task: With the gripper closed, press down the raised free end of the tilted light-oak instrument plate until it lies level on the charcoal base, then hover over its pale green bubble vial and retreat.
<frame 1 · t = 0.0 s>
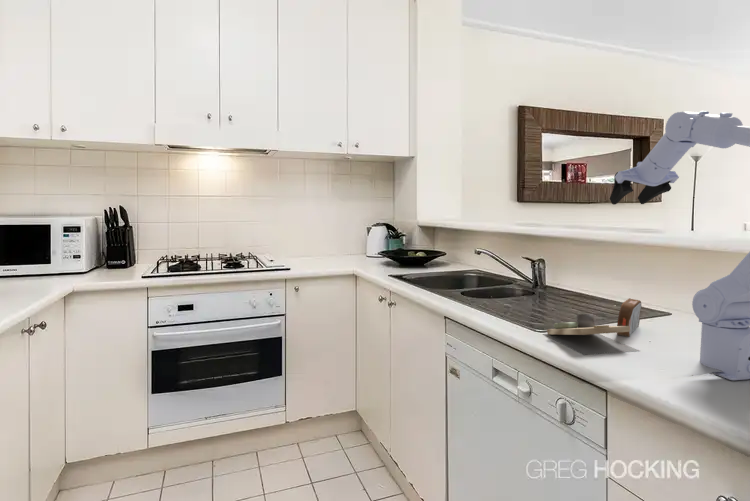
hand: (626, 201, 112), 32 cm above the countertop, tool tilted 50°, fingers open, 7 cm apart
brown and grey slab: (629, 335, 113), on the countertop
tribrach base: (588, 346, 104), on the countertop
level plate: (585, 323, 105), point 5 cm above the countertop, hinge at 15.0°, touching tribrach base
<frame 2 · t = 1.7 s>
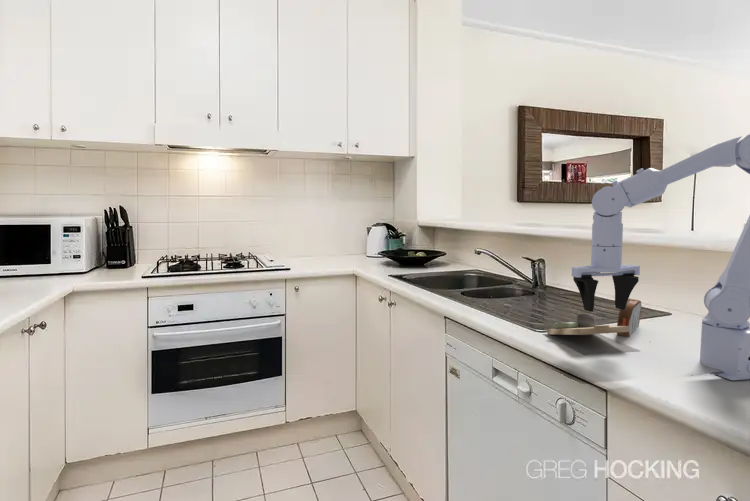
hand: (604, 309, 98), 9 cm above the countertop, tool pointing down, fingers open, 7 cm apart
nothing on the countertop moved.
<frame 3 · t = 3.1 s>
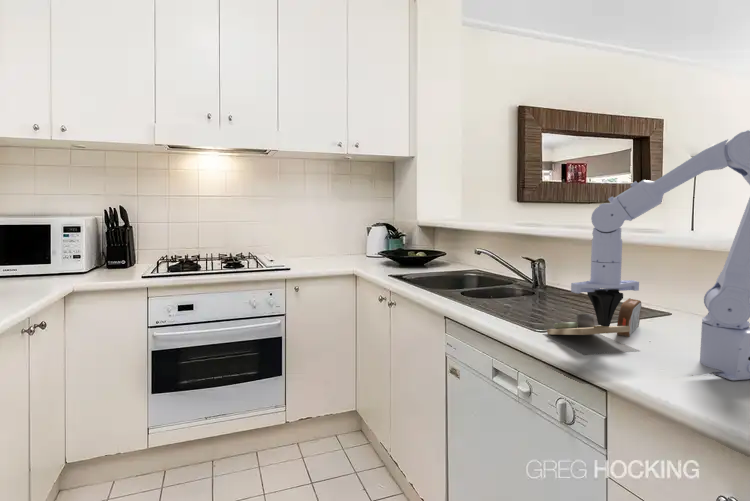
hand: (603, 325, 98), 6 cm above the countertop, tool pointing down, fingers closed, pressing on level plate
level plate: (585, 323, 105), point 5 cm above the countertop, hinge at 15.0°, touching gripper, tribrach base
everything else where it was.
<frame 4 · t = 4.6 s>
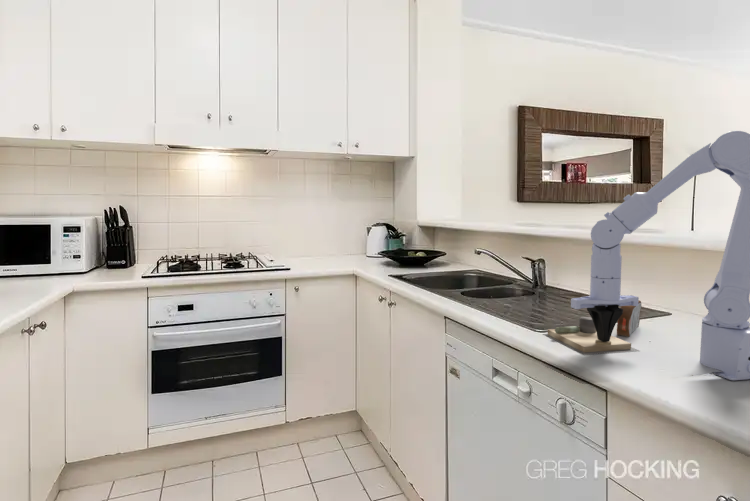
hand: (603, 340, 99), 3 cm above the countertop, tool pointing down, fingers closed
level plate: (587, 332, 104), point 3 cm above the countertop, hinge at 0.0°, touching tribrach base
everything else where it was.
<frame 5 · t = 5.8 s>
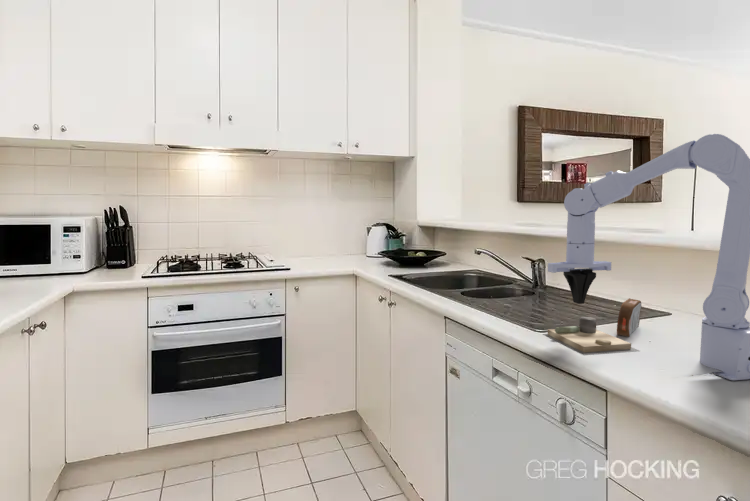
hand: (578, 302, 105), 9 cm above the countertop, tool pointing down, fingers closed
nothing on the countertop moved.
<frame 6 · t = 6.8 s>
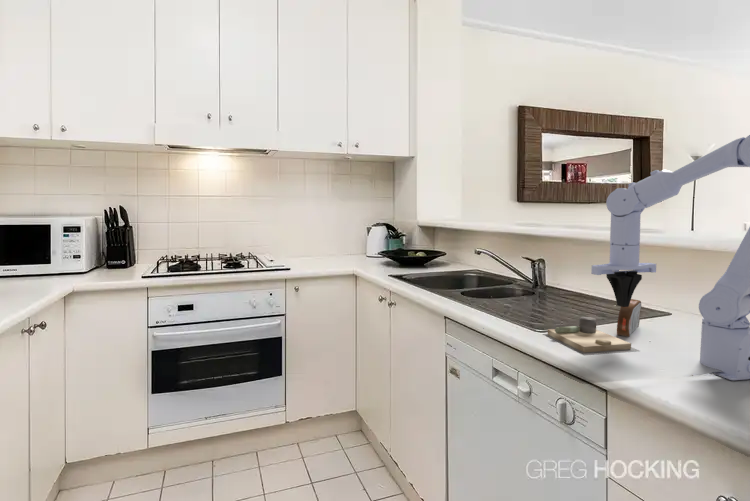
hand: (622, 306, 102), 9 cm above the countertop, tool pointing down, fingers closed
nothing on the countertop moved.
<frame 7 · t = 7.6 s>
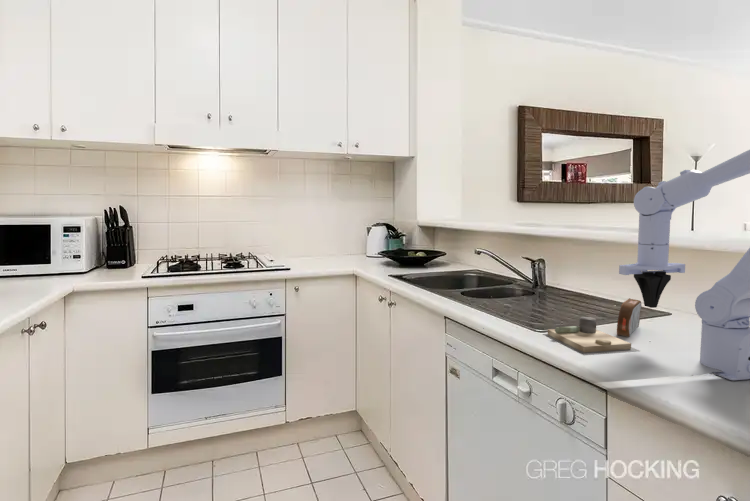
hand: (650, 306, 101), 9 cm above the countertop, tool pointing down, fingers closed
nothing on the countertop moved.
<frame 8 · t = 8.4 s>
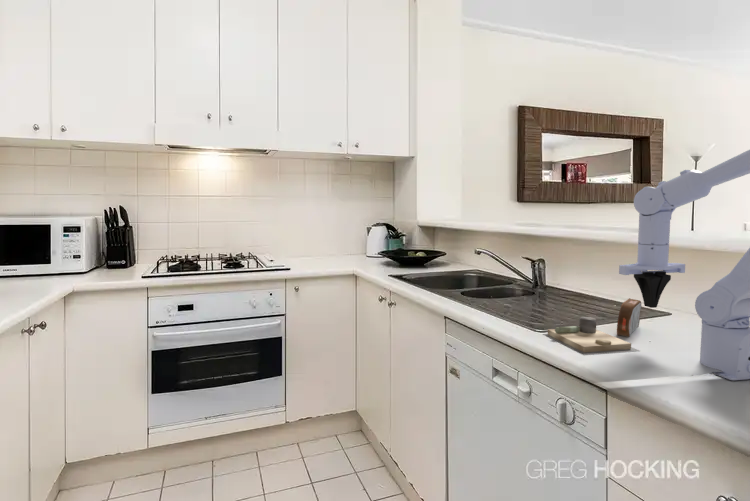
hand: (650, 306, 101), 9 cm above the countertop, tool pointing down, fingers closed
nothing on the countertop moved.
at the end: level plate at +0° (first picture: +15°); brown and grey slab moved 0.3 cm from its start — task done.
